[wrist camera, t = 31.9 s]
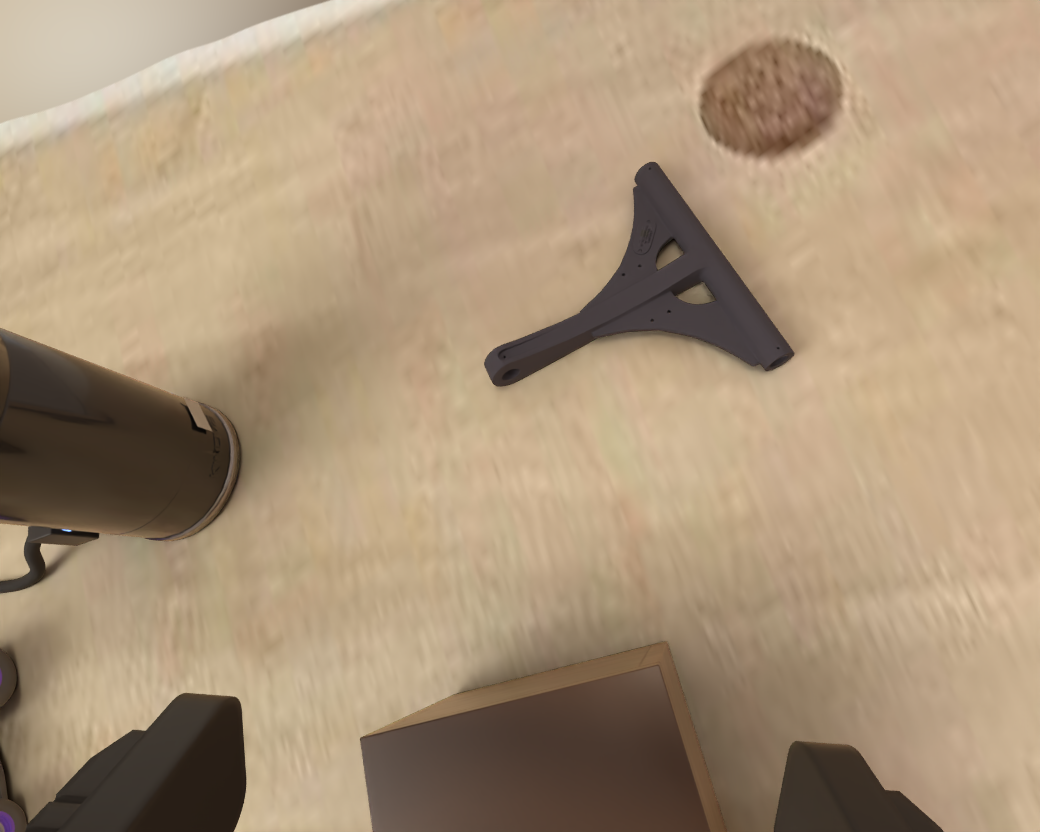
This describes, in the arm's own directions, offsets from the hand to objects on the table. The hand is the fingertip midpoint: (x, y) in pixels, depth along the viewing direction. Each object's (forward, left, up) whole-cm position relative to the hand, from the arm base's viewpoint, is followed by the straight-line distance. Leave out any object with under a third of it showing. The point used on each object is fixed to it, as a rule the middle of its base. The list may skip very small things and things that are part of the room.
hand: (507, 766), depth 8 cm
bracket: (+4, +17, -23) cm, 29 cm away
